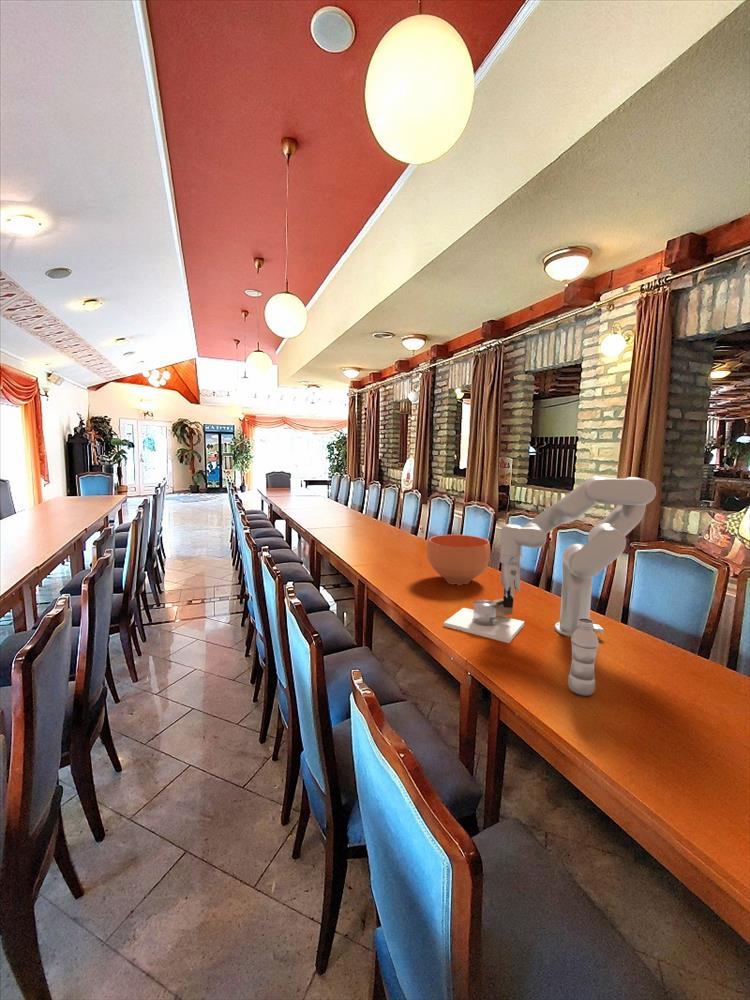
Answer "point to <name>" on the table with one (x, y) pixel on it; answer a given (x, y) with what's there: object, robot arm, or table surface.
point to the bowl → (458, 557)
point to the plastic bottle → (583, 658)
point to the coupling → (489, 611)
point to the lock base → (499, 631)
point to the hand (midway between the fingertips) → (507, 606)
